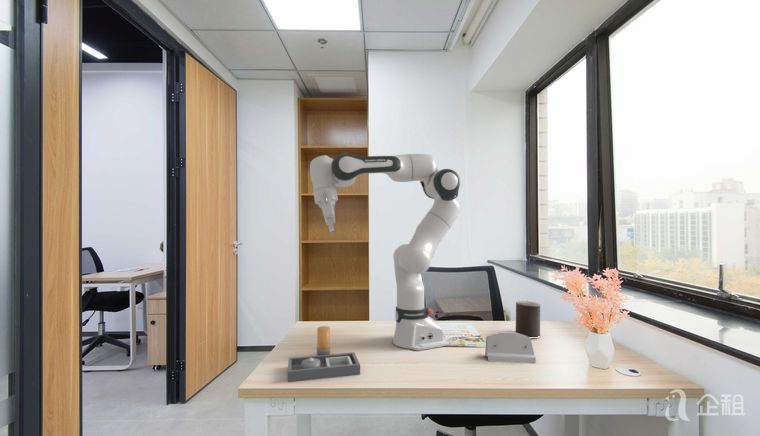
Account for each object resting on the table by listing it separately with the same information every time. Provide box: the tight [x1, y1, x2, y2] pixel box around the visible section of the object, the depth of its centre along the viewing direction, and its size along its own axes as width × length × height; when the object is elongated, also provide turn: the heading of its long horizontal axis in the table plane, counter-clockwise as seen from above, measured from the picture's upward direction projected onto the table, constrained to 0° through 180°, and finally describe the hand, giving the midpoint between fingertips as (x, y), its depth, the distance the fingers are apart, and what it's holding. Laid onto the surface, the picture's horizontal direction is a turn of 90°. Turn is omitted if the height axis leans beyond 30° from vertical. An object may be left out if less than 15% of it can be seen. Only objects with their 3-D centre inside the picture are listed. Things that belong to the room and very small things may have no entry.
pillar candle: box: [515, 299, 541, 337], centre depth 148 cm, size 10×10×15 cm
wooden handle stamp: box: [316, 325, 331, 356], centre depth 124 cm, size 5×5×10 cm
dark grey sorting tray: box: [287, 351, 361, 383], centre depth 111 cm, size 22×11×4 cm, turn 104°
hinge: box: [484, 331, 537, 363], centre depth 123 cm, size 17×5×10 cm, turn 84°
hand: (332, 232), depth 131 cm, fingers open, 8 cm apart
